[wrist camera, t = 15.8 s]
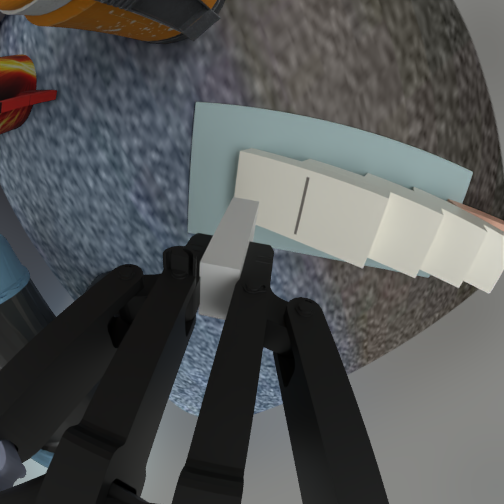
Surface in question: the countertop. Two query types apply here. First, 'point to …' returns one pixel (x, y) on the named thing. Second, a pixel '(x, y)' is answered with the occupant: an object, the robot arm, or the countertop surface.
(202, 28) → the canister
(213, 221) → the mat
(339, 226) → the domino
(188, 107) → the countertop surface
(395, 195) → the domino
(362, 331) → the countertop surface
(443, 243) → the domino
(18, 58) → the mug
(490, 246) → the domino
